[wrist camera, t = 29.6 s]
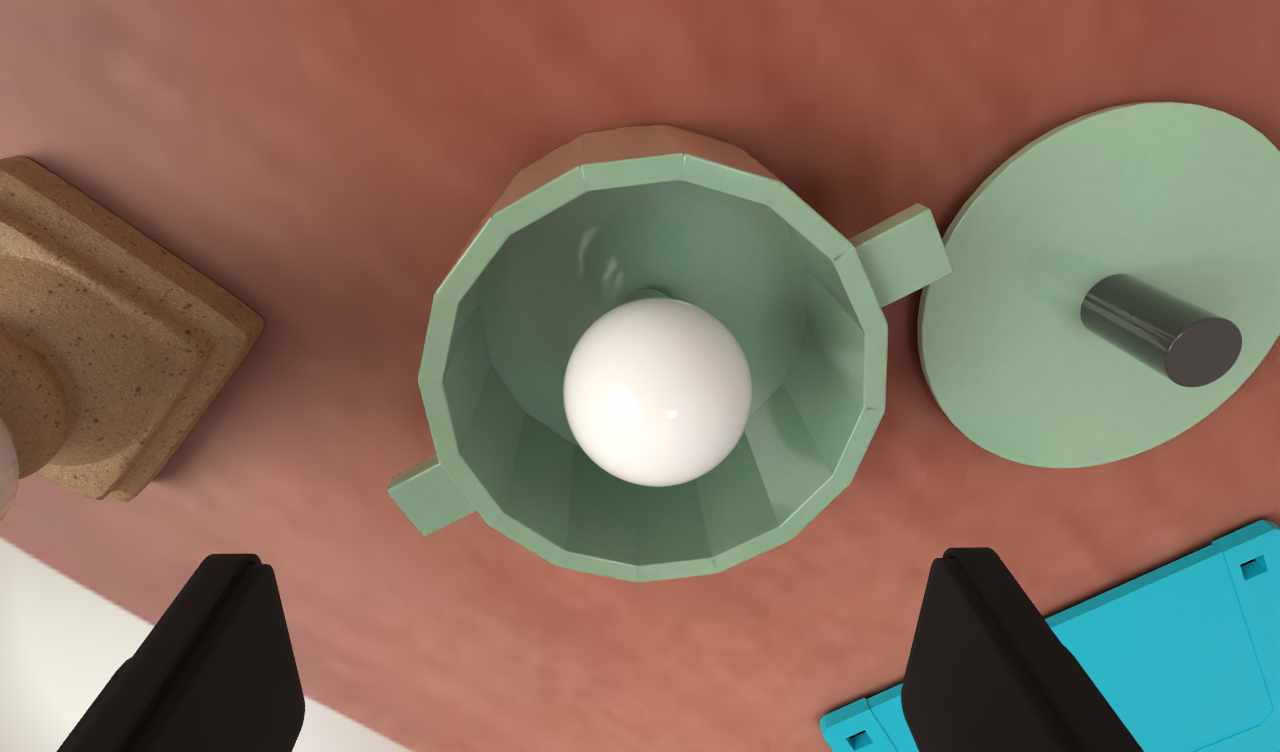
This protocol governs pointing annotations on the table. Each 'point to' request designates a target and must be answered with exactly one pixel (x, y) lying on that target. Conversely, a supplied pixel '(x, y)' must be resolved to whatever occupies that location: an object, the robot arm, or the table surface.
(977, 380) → the pot lid
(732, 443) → the lightbulb
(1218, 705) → the floppy disk
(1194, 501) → the table surface
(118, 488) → the candle holder
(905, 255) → the pot
